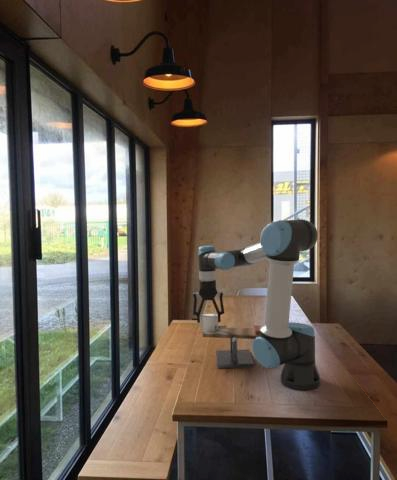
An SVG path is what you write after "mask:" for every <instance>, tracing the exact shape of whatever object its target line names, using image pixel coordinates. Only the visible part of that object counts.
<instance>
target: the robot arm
mask: <svg viewBox="0 0 397 480" xmlns="http://www.w3.org/2000/svg"><path fill="white" fill-rule="evenodd" d="M318 238H319V233H318V229H317V228H316V226H315V225H314V223H312V222H311V221H309V220H307V219H303V218H302V219H301V218H300V219H299V218H298V219H286V220H285V219H284V220H281V219H279V220H275V221H271V222H270V223H268V224H266V225H265V226H264V228H263V229H262V231H261V233H260V239H259V242H257V243H254V244H251V245H248V246H246V247H243V248H240V249H233V250H224V251H217V250H216V248H215V246H214V245H201V246H199V247H198V254H197V256H198V279H199V290H198V292H193V301H194V302H193V313H192V314H193V316H196V318H197V319H196V321H197V323H198V324H199V331H203V327H202V318H201V315H202V314H201V312H202V309H203V307H204V304H205V301H212V304H213V306H214V309H215V311H216V313H215V314H216V324H215V325H216V329H217V330H218V325H219V323H220V322H221V321H222V320H221V315H224V314H225V308H224V307H225V306H224V301H223V295H224V293H223V291H218V290H217V281H216V279H217V273H216V271H217V269H218V270H221V271H229V270H231V269H232V268H237V267H245V266H246V267H247V266H251V265H254V264H255V263H258V262H260V261H263V260H267V261H268V262H269V266H268V278H267V290H266V291H267V292H266V301H265V303H266V304H265V313H264V314H265V316H264V323H263V325H260V326H261V327H260V336H259V337H256V338H255V339H252V343H251V349H252V353H253V356H254V357H255V359H256V361H257V362H258V364H260V366H262V367H264V368H267V369H271V368H277V367H279V366H282V365H283V367H282V369H281V370H282V371H281V372H280V373H281V374H280V383H281V384H282V385H283V386H284V387H286V388H288V389H292V390H297V391H310V390H314V389H317V388H319V387H320V386H321V382H322V381H321V376H320V372H319V369H318V366H317V365H316V334H315V333H316V332H315V328H314V327H313V326H311V325H310V324H306V323H301V322H290V311H291V302H292V301H291V300H292V291H293V280H294V270H295V265H296V263H299V261H300V255H301V252H305V251H308V250H310V249H312V248H313V247H314V246H315V245H316V243H317V242H318ZM199 296H200V297H201V300H200V304H199V307H198V310H197V302H198V298H199ZM216 296H218V297H219V298H218V299H219V304H220V305H219V306H220V308H219V306H218V304H217V301H216V299H215V297H216Z"/></svg>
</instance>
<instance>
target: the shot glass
mask: <svg viewBox="0 0 397 480" xmlns="http://www.w3.org/2000/svg"><path fill="white" fill-rule="evenodd" d="M216 314H217V313H211V312H210V313H203V314H200V315H201V320H202V332H203V331H215V325H216Z"/></svg>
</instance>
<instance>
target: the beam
mask: <svg viewBox="0 0 397 480" xmlns="http://www.w3.org/2000/svg"><path fill="white" fill-rule="evenodd" d="M261 326H262V325H252V328H247V327H233V328H230V327H227V324H218V330H217V329H216V324H215V331H203V330H202V338H213V339H216V338H218V339H219V338H220V339H221V338H222V339H230V338H231V341H232V337H237V339H241V340H242V339H243V340H254V339H255V338H256V337H259V336H260V327H261Z"/></svg>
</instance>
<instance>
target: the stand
mask: <svg viewBox="0 0 397 480" xmlns="http://www.w3.org/2000/svg"><path fill="white" fill-rule="evenodd" d="M229 328H234V326H230V327H229ZM229 340H230V342H229V343H230V349H223V350H215V356H216V358H215V359H216V367H217V369H233V368H234V369H236V368H237V369H238V368H255V363H254V360H253V357H252V355H251V354H252V353H251V352H250V349H238V338H237V337H232V341H231V338H229Z"/></svg>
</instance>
